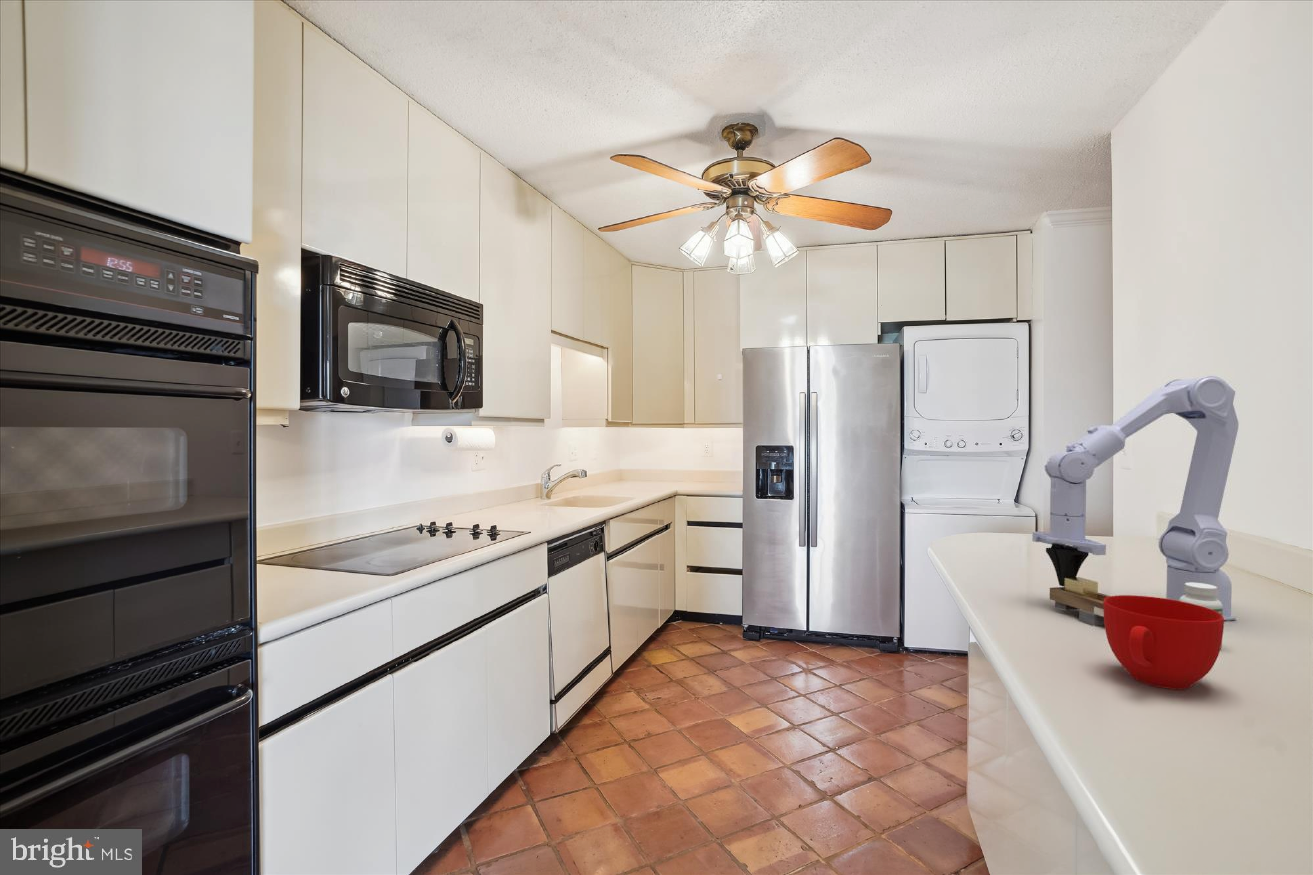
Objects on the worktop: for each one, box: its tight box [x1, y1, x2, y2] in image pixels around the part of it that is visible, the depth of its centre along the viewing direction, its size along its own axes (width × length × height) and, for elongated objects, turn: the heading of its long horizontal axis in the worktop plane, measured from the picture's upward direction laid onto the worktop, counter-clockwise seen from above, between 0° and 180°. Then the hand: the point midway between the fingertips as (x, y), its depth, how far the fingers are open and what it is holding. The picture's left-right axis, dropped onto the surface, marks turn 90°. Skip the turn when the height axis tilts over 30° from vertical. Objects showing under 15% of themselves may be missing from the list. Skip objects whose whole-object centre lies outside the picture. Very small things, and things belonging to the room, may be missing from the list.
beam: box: [1049, 586, 1110, 626], centre depth 113 cm, size 7×17×4 cm, turn 13°
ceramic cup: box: [1103, 594, 1225, 690], centre depth 86 cm, size 13×17×10 cm
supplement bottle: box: [1179, 582, 1223, 648], centre depth 102 cm, size 5×5×10 cm
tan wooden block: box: [1065, 576, 1099, 600], centre depth 118 cm, size 3×4×3 cm
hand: (1066, 585), depth 121 cm, fingers closed
